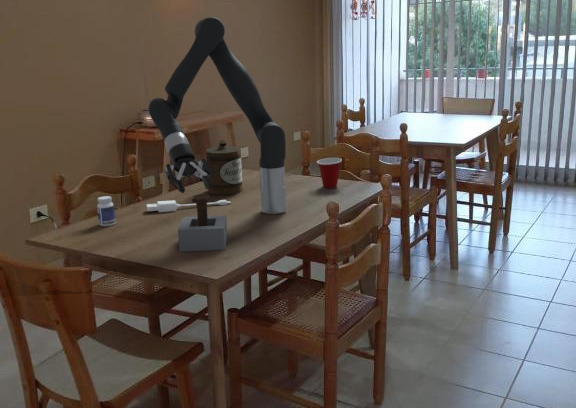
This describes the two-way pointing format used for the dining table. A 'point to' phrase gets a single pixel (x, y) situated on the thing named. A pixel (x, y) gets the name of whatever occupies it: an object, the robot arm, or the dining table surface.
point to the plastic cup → (329, 171)
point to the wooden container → (224, 169)
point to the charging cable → (175, 205)
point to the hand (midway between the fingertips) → (195, 189)
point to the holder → (202, 234)
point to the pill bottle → (106, 211)
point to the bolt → (202, 208)
